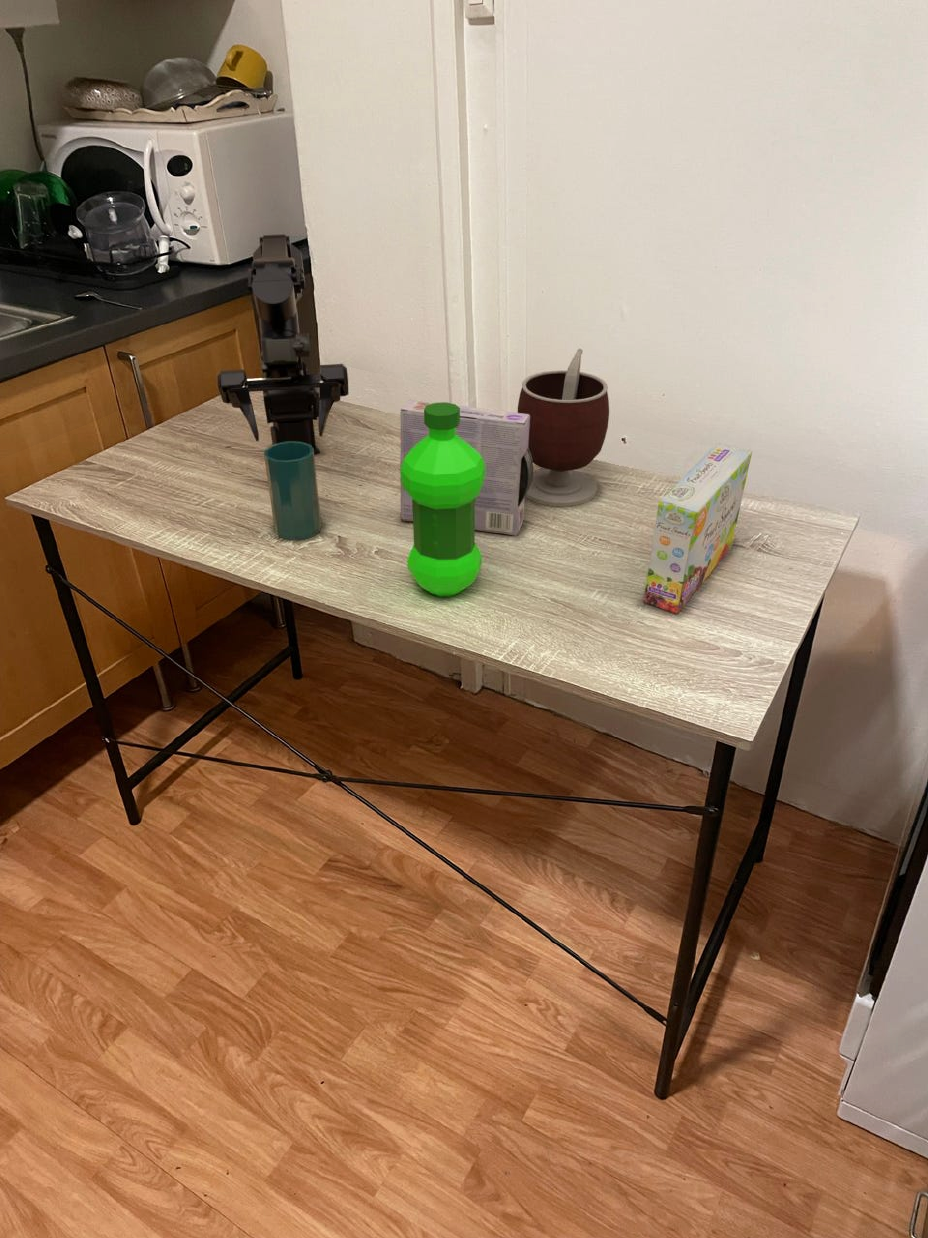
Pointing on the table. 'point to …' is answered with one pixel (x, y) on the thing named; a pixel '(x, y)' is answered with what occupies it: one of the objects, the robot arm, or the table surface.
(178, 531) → the table surface
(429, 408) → the plastic bottle
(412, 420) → the cake pan box
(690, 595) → the snack box
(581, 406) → the mate gourd
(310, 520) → the teal and beige cup
